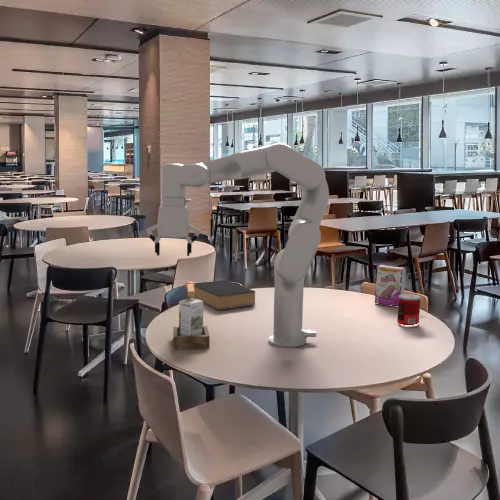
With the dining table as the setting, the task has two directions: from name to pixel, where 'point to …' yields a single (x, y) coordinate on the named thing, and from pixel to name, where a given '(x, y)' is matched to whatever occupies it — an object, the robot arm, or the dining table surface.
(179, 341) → the holder
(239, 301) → the book
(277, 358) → the dining table surface
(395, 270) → the candy bar box
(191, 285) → the bar
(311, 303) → the dining table surface
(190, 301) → the syrup box
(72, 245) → the dining table surface
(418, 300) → the canned food
